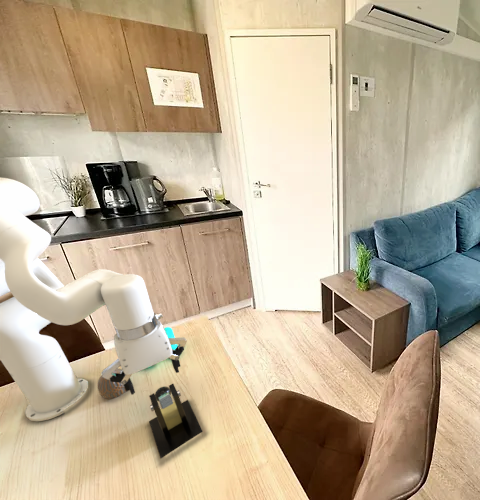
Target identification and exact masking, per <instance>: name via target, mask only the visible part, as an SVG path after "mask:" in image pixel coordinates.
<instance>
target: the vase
mask: <svg viewBox="0 0 480 500" xmlns="http://www.w3.org/2000/svg"><path fill="white" fill-rule="evenodd" d="M106 368H107V367H105V368H104V369H106ZM121 371H122V368H119V367H118V368H117V369H116V370H115V371H114V372H113V373H119V374H120V373H121ZM96 387H97V391H98V393H99V395H100V396H101V397H102V398H104V399H108V400H112V399H115V398H118V397H120V396H122V395H123V394H125V393H126V389H125V387H124V385H123V384H121V383H118V382H111V381H110V380H108V379H105V378H103V377H102V374H101V375H100V377H99V379H98V380H97V386H96Z"/></svg>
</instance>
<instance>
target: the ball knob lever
mask: <svg viewBox="0 0 480 500" xmlns="http://www.w3.org/2000/svg"><path fill="white" fill-rule="evenodd" d="M154 394H155V397H156V399H157V402H158V403H159V405H160V406H161V408H162V409H164V408H166V407H168V406H170V405H171V404H173V402H174V400H173V397H172V394H171V391H170V388H169V386H161V387H159V388H157V389H156V390H155V393H154Z"/></svg>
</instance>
